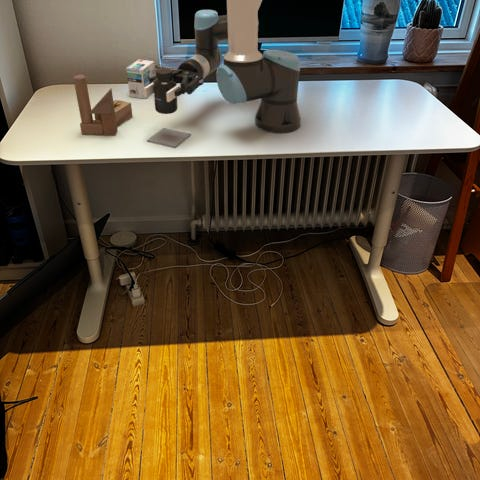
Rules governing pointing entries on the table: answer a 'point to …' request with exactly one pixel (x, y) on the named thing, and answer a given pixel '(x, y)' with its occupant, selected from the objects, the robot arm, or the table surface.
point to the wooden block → (95, 110)
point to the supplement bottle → (164, 91)
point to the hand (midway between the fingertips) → (156, 95)
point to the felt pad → (169, 137)
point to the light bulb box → (139, 77)
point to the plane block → (120, 112)
